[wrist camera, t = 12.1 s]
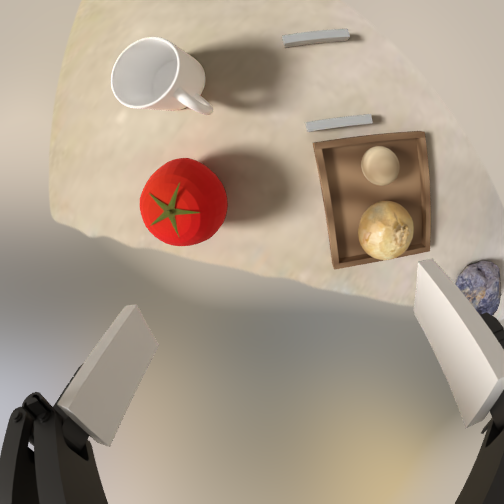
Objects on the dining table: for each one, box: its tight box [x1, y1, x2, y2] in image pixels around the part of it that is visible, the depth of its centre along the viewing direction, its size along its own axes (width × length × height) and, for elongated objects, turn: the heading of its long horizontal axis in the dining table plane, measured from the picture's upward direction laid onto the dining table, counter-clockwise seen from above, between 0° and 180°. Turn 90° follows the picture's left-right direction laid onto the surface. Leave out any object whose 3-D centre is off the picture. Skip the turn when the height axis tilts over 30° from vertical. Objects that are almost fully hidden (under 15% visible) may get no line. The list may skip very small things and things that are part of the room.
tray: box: [313, 131, 431, 269], centre depth 34 cm, size 18×16×2 cm
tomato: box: [140, 158, 228, 246], centre depth 32 cm, size 10×11×11 cm
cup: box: [111, 37, 213, 115], centre depth 26 cm, size 8×12×10 cm
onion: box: [358, 201, 414, 260], centre depth 33 cm, size 8×8×7 cm
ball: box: [361, 146, 400, 186], centre depth 30 cm, size 5×5×5 cm
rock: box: [456, 261, 501, 315], centre depth 35 cm, size 11×10×10 cm
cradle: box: [282, 29, 373, 132], centre depth 28 cm, size 13×8×2 cm, turn 14°
